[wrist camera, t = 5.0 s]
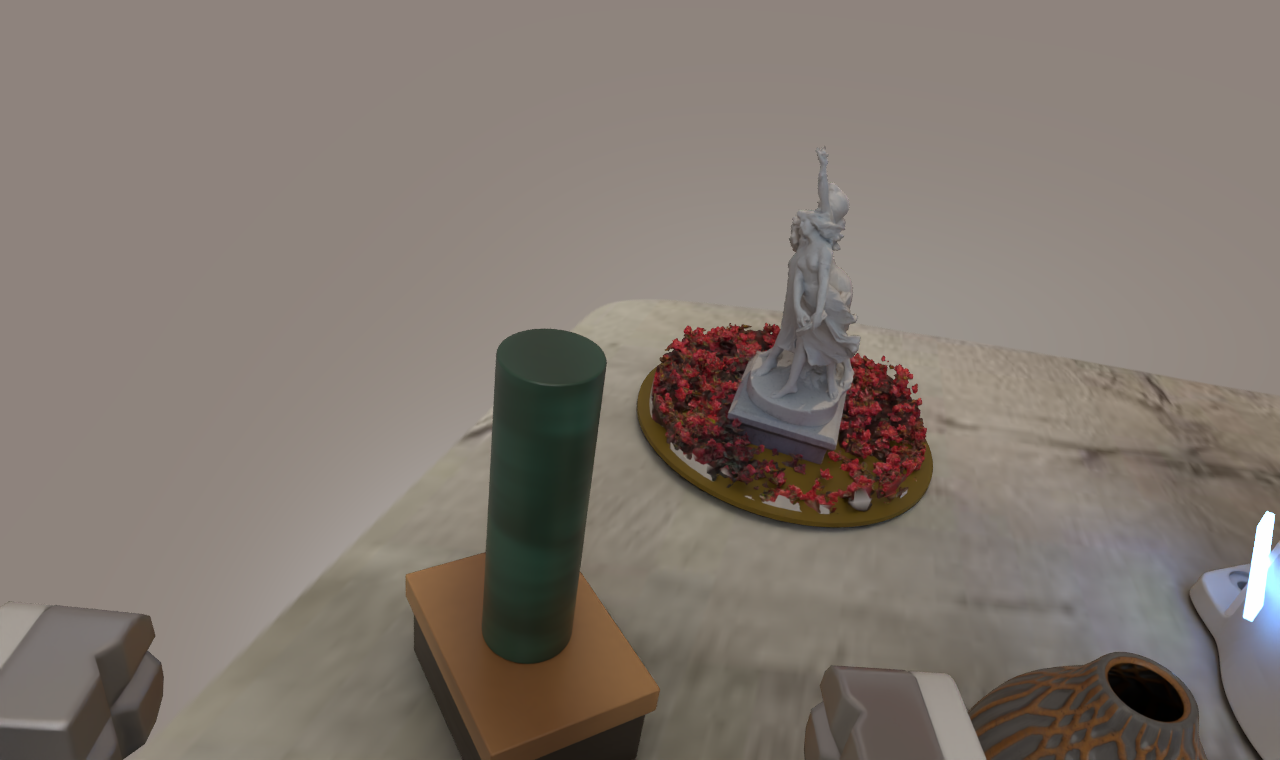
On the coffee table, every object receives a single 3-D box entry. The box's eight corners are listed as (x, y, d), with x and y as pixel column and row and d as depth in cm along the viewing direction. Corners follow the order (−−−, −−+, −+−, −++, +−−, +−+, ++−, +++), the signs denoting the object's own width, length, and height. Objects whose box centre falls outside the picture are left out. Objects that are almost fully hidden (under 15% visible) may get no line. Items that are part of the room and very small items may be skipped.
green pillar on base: (547, 602, 34) (581, 279, 27) (645, 761, 29) (720, 413, 22) (405, 647, 31) (401, 302, 24) (486, 831, 26) (511, 461, 19)
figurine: (597, 464, 40) (651, 157, 33) (677, 325, 53) (728, 80, 46) (930, 568, 38) (1069, 263, 31) (931, 396, 51) (1029, 151, 43)
